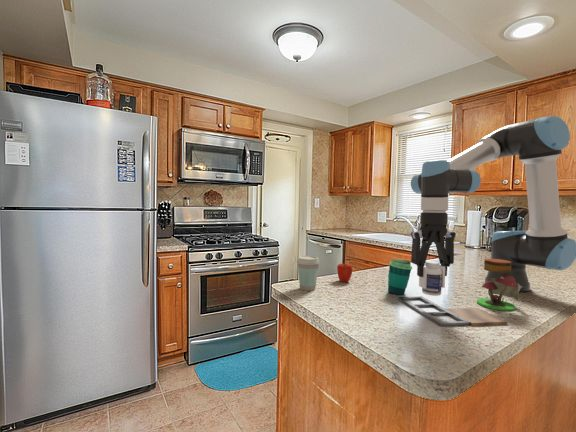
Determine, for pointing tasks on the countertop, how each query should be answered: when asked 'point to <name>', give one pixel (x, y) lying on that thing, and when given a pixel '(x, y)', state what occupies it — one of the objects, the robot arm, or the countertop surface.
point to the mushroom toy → (499, 286)
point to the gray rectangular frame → (431, 314)
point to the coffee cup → (308, 272)
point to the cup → (398, 276)
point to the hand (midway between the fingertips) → (431, 286)
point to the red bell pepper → (344, 272)
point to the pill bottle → (433, 279)
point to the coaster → (477, 316)
